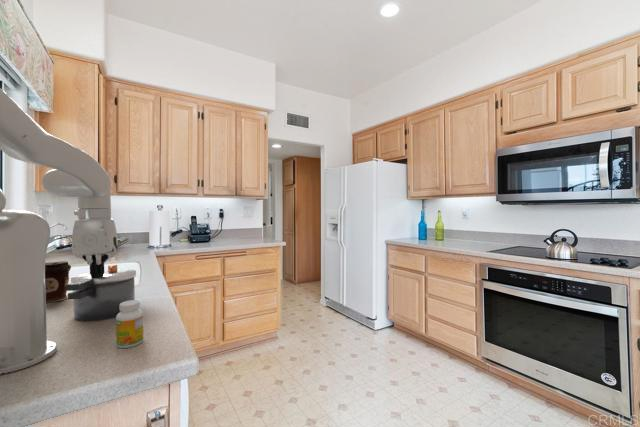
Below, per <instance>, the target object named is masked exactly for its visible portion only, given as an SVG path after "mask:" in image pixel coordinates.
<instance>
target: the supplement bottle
mask: <svg viewBox="0 0 640 427" xmlns="http://www.w3.org/2000/svg"><path fill="white" fill-rule="evenodd" d="M140 303H141V302H140V300H137V299H135V300H130V301H125V302H122V303H120V305H119V309H120V311H121V312H120V313H118V314H117V316H116V317H115V326H116V327H115V331H116V333H115V334H116V337H115V338H116V341H115V342H116V347H117V348H120V349H128V348H133V347H135V346H138V345H140V344H142V343H143V341H144V312H143V310H142V309H140V305H141V304H140Z"/></svg>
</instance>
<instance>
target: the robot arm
mask: <svg viewBox="0 0 640 427" xmlns="http://www.w3.org/2000/svg"><path fill="white" fill-rule="evenodd" d="M0 150H1V152H3V153H5V155H6V156H8V157H10V158H12V159H15V160H17V161H22V162H24V163H28V164H32V165H36V166H40V167H45V168H50V169H51V170H48V171H47V172H46V173H45V174H44V175H43V176H42V178H41V185H42V187H43V189H44V190H45V191H46V192H47V193H49V195H52V196H55V197H59V198H77V210H74V212H73V214H74V216H77V218H78V219H75V220H74V223H73V228H72V235H71V252H72V254H74V256H75V258H77V259H81V260H84V261H85V262H86V263H87V265H89V272H90V275H91V278H99V277H102V276H103V275H104V270H105V263H106V262H107V261H108V260H109V259H110V258H113V257H117V256H118V247H119V242H118V233H117V228H116V223H115V219H113V218H112V208H111V207H112V204H111V201H112V200H111V199H112V198H111V187H112V181H111V178H110V175H109V174H108V172H107V171H106V170H105V169H104V167H103V166H102V165H101V164H100V162H98V160H96V158H94V157H93V156H92V155H90V154H89V153H88V152H86V151H85V150H83V149H81V148H79V147H77V146H75V145H73V144H70V143H69V142H67V141H65V140H63V139H61V138H60V137H56V136H54V135H52V134H50V133H48V132H47V131H46V130H44V128H42V127H41V126H40V125H39V123H37V122H36V121H35V120H34V119H33V118H32V117H31V116H30V115H29V114H28V113H26V111H25V110H24V109H23V108H22V107H21V106H20V105H19V104H18V103H17V102H16V101H15V100H13V98H12V97H11V96H9V95H8V94H7V93H6V91H5V90H3V89H2V88H1V87H0ZM6 205H7V199H6V196H5V193H4V192H3V190H2V189H1V188H0V375H3V374H2V373H4V374H9V373H13V372H16V371H19V370H20V371H21V370H22V369H26V368H28V367H31V366H33V365H36V364H38V363H41V362H43V361H45V360H47V359H48V358H49V357H52V356H53V355H54V354H55V353H56V351H57V343H56V342H54V341H51V340H48V336H47V333H48V330H47V326H48V325H47V302H46V290H45V263H46V258H47V257H46V256H47V251H48V246H49V242H50V238H51V227H50V224H49V222H48V221H47V220H46V219H45V218H44V217H43V216H41V214H39V213H36V212H35V213H34V212H32V211H28V210H19V209H17V210H16V209H8V210H7V209H5V208H6ZM8 372H9V373H8Z"/></svg>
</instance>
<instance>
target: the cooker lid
mask: <svg viewBox="0 0 640 427" xmlns="http://www.w3.org/2000/svg"><path fill="white" fill-rule="evenodd" d="M107 268H108V269H104V275H103V276H102V277H99V278H91V275H90V271H89V272H85V273H80V274H77V275H74V276H71V277H70V282H69V283H68V284H67V285H66V291H67V292H69V291H70V292H72V291H77V290H82V289H84V288H87V287H89V286H92V285H95V284H105V283H113V282H119V281H123V280H127V279H131V278H133V277H134V278H136V277H137V271H136V270H135V269H130V268H129V269H127V268H123V269H121V268H119V269H118V264H110V265H108V266H107Z"/></svg>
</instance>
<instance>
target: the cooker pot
mask: <svg viewBox="0 0 640 427" xmlns="http://www.w3.org/2000/svg"><path fill="white" fill-rule="evenodd" d="M135 292H136V291H135V277H133V278H131V279H127V280H123V281H119V282H113V283H105V284H95V285H92V286H89V287H87V288H84V289H82V290H77V291H70V292H67V300H73V316H74V320H76V321H79V322H95V321H103V320H109V319H113V318H116V316H117V314H118V313H120V312H121V311H120V309H119V305H120V303H122V302H125V301H130V300H136V296H135V295H136V293H135Z"/></svg>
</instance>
